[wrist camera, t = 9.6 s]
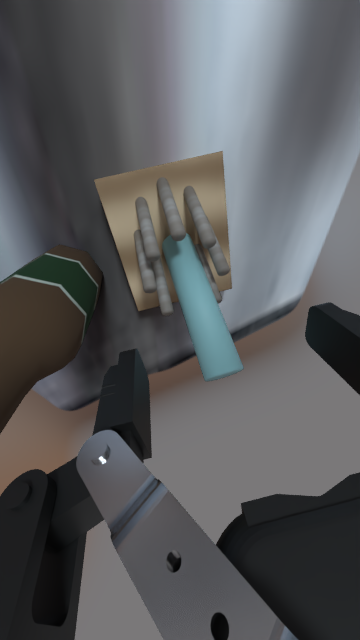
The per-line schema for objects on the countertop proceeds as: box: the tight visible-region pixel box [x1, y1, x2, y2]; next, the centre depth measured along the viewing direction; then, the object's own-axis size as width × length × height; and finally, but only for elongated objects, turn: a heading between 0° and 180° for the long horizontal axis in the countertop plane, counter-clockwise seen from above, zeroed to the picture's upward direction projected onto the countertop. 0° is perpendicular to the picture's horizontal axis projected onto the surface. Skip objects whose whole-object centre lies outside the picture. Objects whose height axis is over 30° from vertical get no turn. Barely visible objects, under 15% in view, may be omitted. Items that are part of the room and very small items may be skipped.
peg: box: [162, 233, 244, 381], centre depth 20 cm, size 3×3×14 cm
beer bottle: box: [0, 245, 103, 433], centre depth 17 cm, size 8×8×24 cm
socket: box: [94, 151, 232, 316], centre depth 22 cm, size 14×12×9 cm
